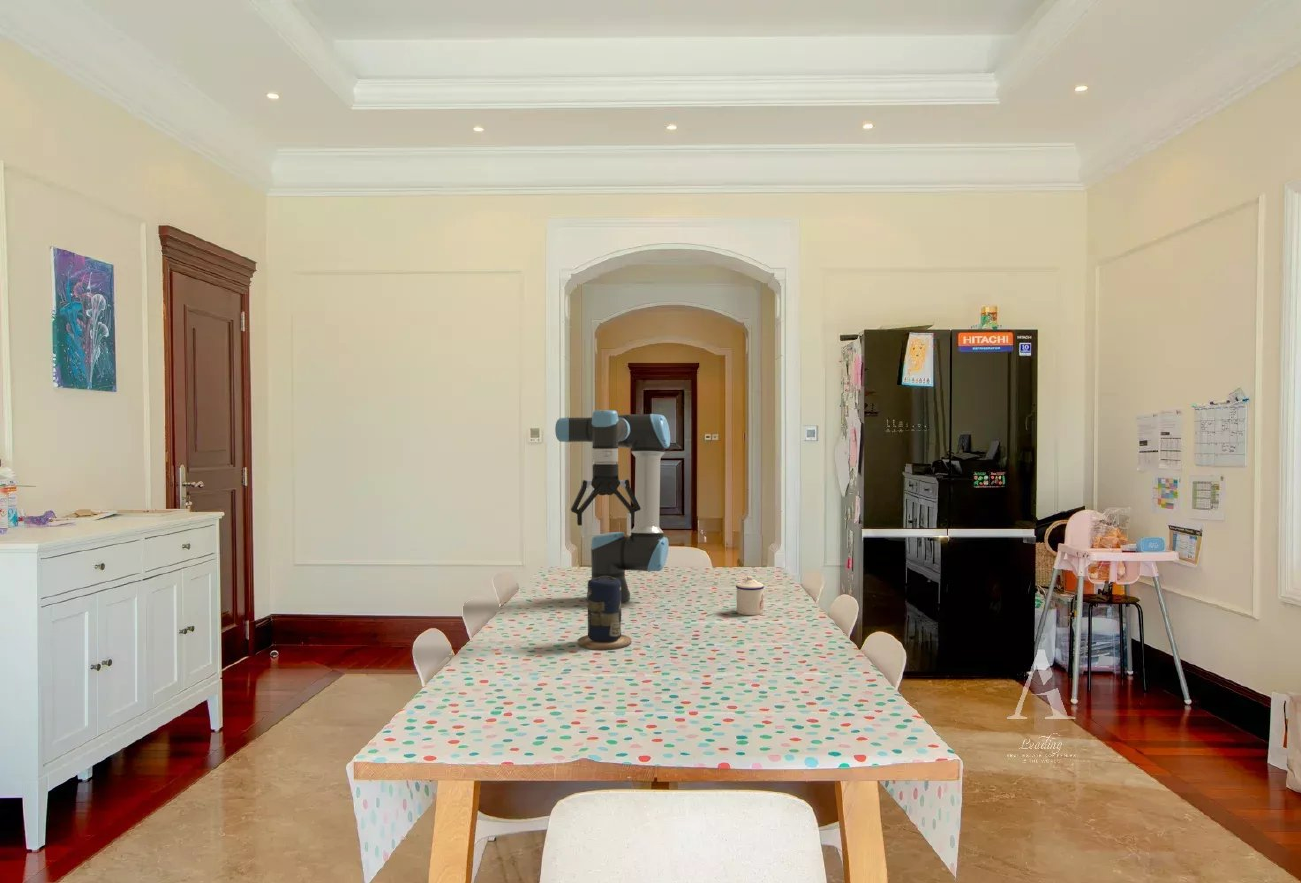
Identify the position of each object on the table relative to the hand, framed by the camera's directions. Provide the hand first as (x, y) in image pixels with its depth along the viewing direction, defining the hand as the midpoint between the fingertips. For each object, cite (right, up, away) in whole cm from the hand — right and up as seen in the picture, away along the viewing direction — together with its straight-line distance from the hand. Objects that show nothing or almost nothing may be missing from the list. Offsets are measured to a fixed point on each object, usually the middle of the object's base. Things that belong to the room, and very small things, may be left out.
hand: (606, 536), depth 244 cm
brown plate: (0, -29, -9) cm, 30 cm away
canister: (0, -28, -9) cm, 30 cm away
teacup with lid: (+45, -28, +28) cm, 60 cm away
